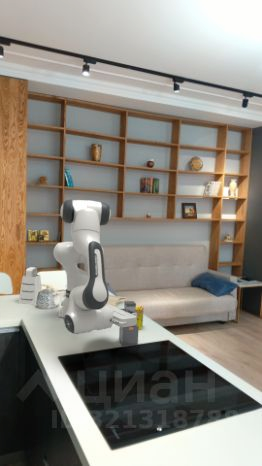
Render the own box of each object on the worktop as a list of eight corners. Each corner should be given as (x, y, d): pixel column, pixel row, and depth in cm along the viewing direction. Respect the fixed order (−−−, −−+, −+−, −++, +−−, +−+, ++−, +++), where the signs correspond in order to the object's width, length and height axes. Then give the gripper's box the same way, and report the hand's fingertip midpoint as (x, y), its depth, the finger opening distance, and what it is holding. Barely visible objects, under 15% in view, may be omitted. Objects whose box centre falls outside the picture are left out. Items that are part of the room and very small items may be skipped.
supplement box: (140, 332, 166) (141, 309, 165) (128, 331, 167) (129, 308, 166) (142, 328, 171) (144, 306, 171) (130, 327, 173) (131, 305, 172)
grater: (18, 303, 203) (19, 268, 201) (26, 298, 213) (27, 266, 212) (35, 305, 201) (36, 270, 200) (42, 300, 212) (44, 267, 210)
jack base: (109, 340, 154) (110, 320, 153) (140, 339, 157) (141, 319, 157) (114, 351, 142) (115, 329, 142) (147, 350, 146) (149, 328, 145)
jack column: (122, 340, 151) (124, 301, 150) (131, 340, 152) (133, 301, 151) (124, 344, 147) (126, 303, 146) (134, 344, 148) (136, 303, 147)
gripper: (119, 316, 132) (147, 311, 141) (91, 303, 148) (117, 299, 157) (118, 333, 133) (146, 327, 141) (90, 318, 149) (117, 313, 157)
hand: (131, 312), depth 149 cm, fingers closed on jack column, 5 cm apart
